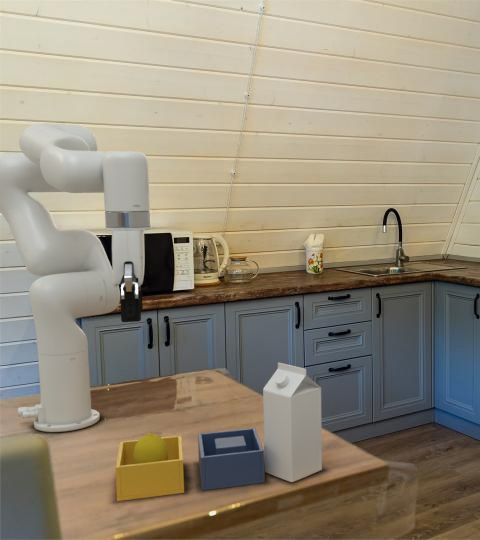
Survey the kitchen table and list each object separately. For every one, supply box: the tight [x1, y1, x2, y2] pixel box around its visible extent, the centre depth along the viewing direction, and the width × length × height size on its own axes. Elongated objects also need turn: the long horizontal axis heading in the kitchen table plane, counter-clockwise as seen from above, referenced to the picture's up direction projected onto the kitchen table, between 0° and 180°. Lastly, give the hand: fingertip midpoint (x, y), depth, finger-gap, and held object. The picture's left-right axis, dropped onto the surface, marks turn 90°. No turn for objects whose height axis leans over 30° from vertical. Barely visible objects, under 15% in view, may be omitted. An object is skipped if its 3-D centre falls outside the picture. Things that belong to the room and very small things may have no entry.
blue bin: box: [197, 427, 266, 491], centre depth 126 cm, size 10×12×6 cm
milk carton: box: [262, 362, 323, 483], centre depth 126 cm, size 7×7×19 cm
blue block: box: [214, 436, 246, 455], centre depth 126 cm, size 5×5×5 cm
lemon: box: [133, 432, 168, 464], centre depth 122 cm, size 6×6×8 cm
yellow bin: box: [115, 435, 185, 502], centre depth 122 cm, size 10×12×6 cm
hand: (132, 316), depth 131 cm, fingers open, 9 cm apart
